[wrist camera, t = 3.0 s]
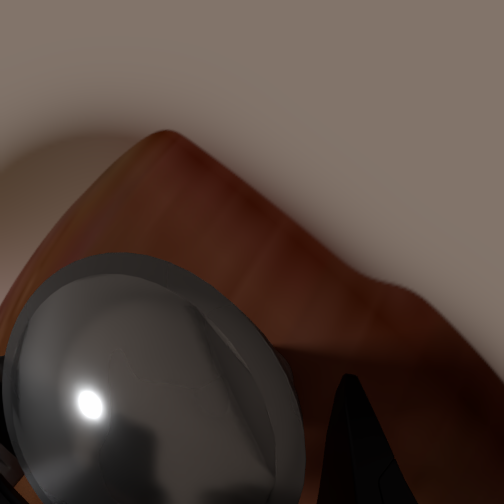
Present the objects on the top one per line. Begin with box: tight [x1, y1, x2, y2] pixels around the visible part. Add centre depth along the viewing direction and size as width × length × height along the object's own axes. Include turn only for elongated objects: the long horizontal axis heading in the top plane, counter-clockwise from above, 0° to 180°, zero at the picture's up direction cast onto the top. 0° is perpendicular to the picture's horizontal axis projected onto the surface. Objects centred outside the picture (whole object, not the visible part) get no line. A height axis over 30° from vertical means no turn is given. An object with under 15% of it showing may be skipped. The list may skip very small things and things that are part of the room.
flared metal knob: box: [2, 253, 306, 504], centre depth 9 cm, size 5×5×13 cm
